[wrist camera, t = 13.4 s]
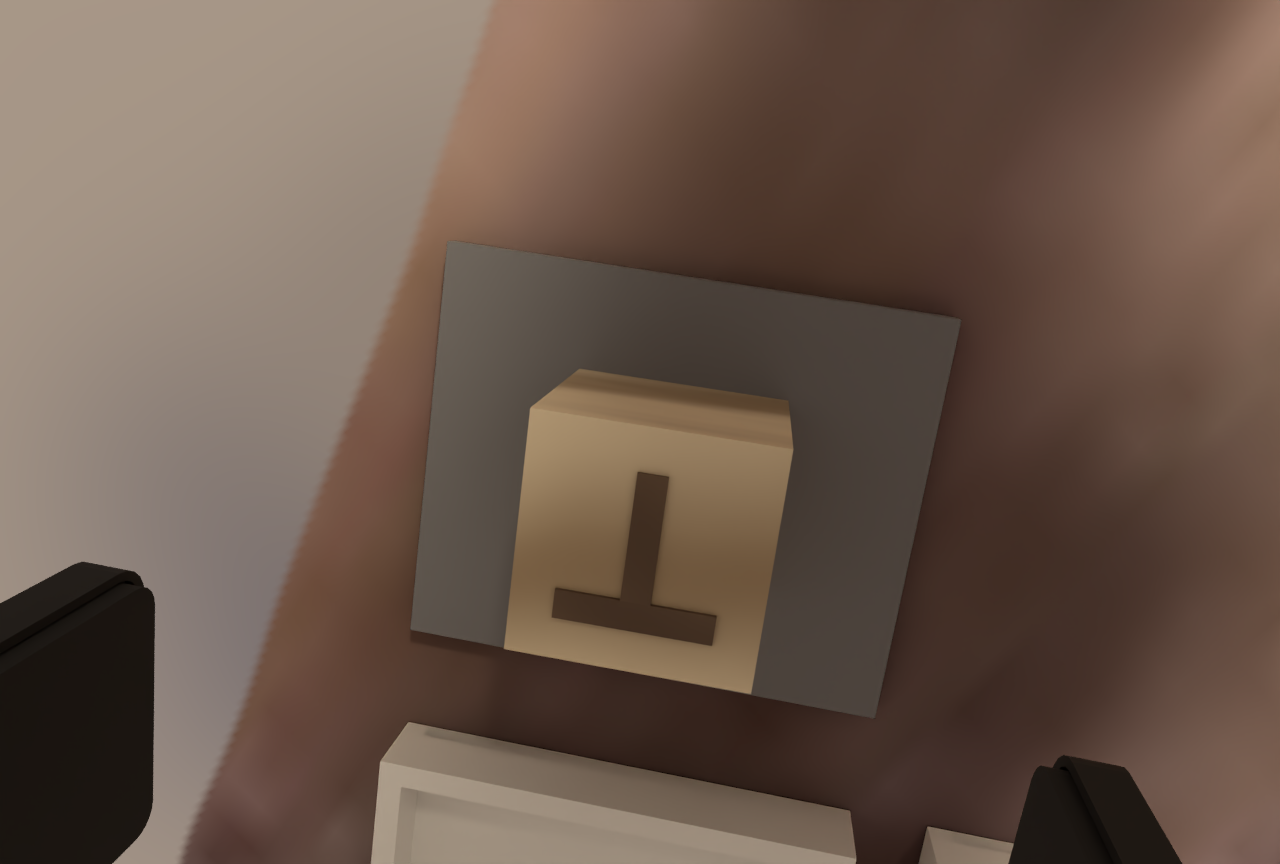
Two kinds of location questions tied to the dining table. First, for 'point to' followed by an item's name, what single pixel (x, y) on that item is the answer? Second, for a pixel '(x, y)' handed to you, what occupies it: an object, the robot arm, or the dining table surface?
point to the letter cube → (649, 527)
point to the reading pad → (703, 357)
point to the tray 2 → (962, 849)
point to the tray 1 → (579, 811)
